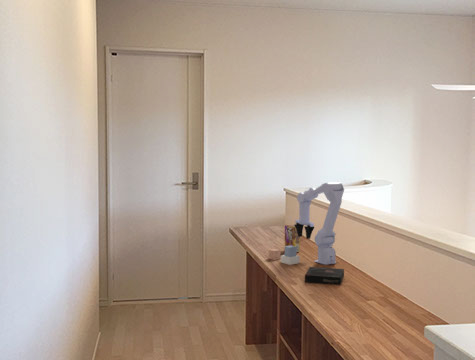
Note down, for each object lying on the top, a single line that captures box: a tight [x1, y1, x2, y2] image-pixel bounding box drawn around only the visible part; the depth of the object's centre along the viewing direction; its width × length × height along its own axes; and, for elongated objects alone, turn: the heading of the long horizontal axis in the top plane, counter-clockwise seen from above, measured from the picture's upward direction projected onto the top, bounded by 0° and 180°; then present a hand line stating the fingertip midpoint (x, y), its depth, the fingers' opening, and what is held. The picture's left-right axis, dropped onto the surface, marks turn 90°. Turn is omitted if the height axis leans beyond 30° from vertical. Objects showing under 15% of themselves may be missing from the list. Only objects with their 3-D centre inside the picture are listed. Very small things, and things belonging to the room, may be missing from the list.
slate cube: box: [284, 245, 297, 257], centre depth 301 cm, size 4×4×5 cm
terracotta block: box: [268, 248, 281, 261], centre depth 311 cm, size 4×4×5 cm
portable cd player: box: [304, 266, 345, 286], centre depth 268 cm, size 16×17×4 cm
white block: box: [280, 254, 300, 266], centre depth 302 cm, size 7×7×4 cm
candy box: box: [284, 224, 301, 253], centre depth 330 cm, size 9×4×15 cm, turn 39°
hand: (304, 237), depth 317 cm, fingers open, 7 cm apart
